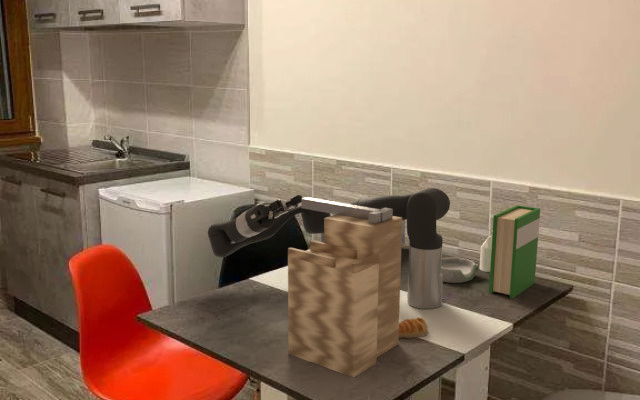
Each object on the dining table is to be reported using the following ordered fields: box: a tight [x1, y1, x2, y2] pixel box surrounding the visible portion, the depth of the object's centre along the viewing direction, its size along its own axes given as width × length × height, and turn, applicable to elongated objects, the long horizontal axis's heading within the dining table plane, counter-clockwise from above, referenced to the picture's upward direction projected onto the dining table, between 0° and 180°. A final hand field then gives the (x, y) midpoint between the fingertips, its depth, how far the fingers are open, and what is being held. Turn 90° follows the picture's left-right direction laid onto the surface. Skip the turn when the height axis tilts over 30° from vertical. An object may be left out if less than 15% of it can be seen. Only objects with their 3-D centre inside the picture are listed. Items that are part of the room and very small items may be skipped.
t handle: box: [301, 196, 393, 225], centre depth 157 cm, size 24×7×2 cm, turn 52°
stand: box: [287, 214, 402, 378], centre depth 154 cm, size 19×21×32 cm
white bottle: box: [479, 235, 492, 273], centre depth 217 cm, size 6×12×6 cm
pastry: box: [399, 317, 429, 339], centre depth 166 cm, size 9×7×4 cm
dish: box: [441, 257, 480, 284], centre depth 210 cm, size 14×14×5 cm
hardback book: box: [488, 204, 541, 299], centre depth 198 cm, size 18×7×24 cm, turn 142°
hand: (291, 200), depth 178 cm, fingers open, 8 cm apart
